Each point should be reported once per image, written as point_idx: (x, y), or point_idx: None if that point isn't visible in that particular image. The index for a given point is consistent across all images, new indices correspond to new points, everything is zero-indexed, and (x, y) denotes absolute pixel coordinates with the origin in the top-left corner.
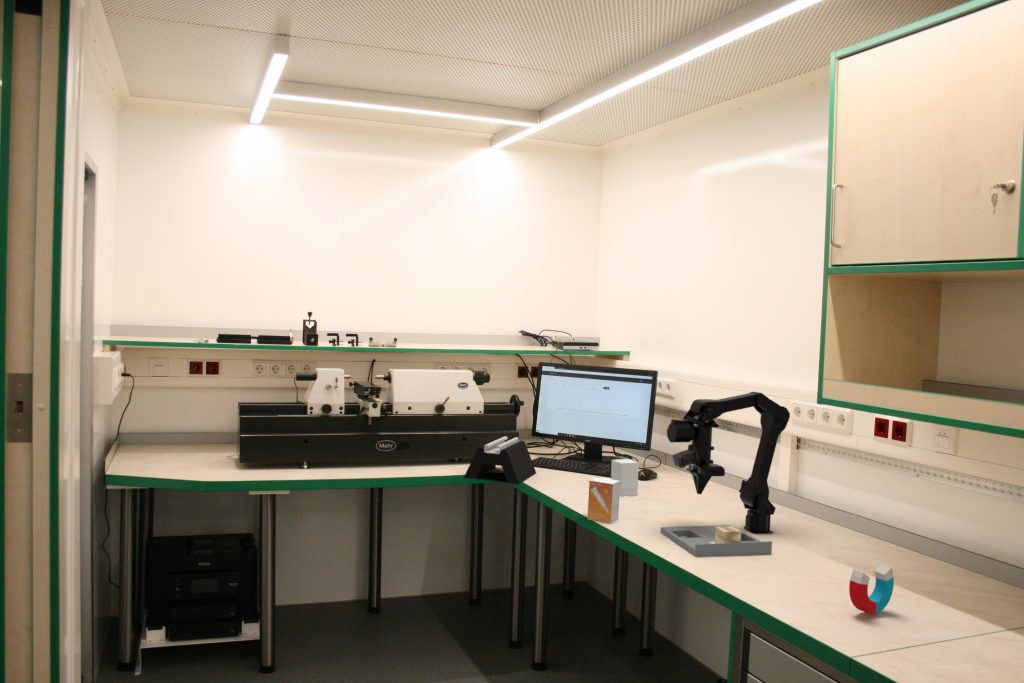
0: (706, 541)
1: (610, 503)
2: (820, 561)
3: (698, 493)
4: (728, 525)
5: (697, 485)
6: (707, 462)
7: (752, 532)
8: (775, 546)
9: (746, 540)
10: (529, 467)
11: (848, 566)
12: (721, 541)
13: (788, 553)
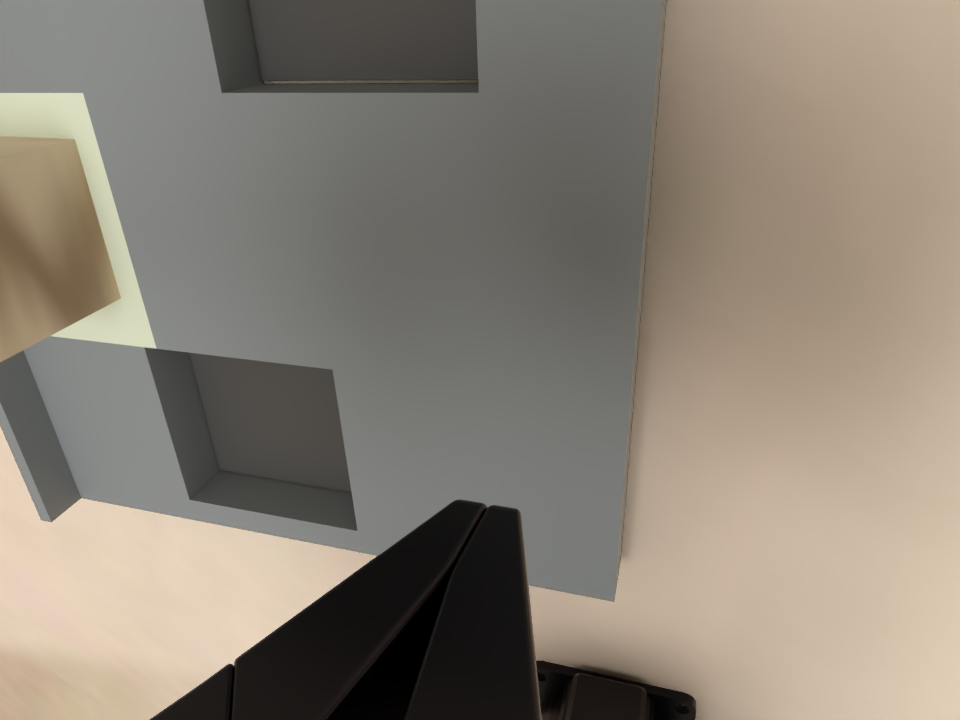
0: (90, 68)
1: None
2: (50, 601)
3: (451, 509)
4: (599, 576)
5: (329, 632)
6: None
7: (555, 667)
8: (261, 586)
9: (329, 495)
10: None
11: (15, 647)
12: None
13: (143, 559)
